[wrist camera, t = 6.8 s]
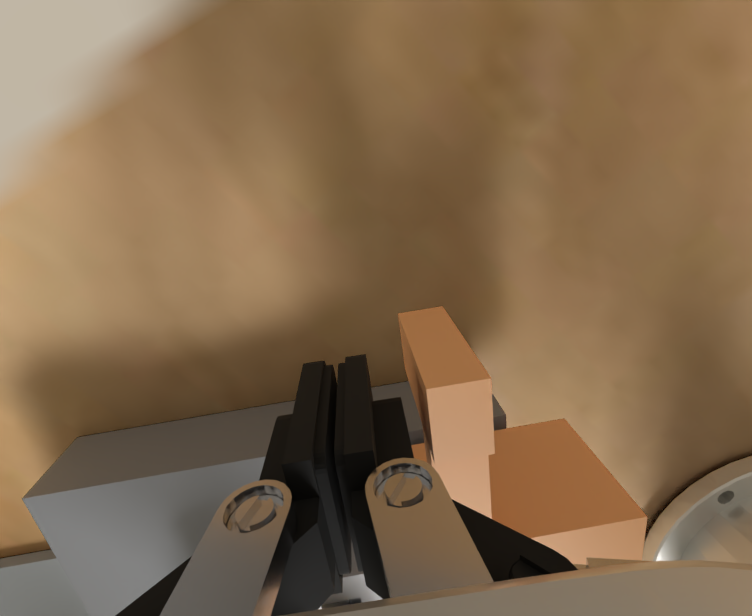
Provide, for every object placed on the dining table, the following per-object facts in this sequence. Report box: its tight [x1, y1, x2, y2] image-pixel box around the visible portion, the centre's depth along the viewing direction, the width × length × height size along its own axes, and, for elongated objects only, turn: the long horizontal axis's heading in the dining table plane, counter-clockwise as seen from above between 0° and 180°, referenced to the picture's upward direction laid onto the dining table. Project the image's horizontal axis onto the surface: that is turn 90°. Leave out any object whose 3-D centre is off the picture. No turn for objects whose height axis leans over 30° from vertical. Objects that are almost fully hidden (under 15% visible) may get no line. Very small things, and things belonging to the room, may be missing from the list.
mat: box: [0, 549, 90, 616], centre depth 22 cm, size 8×8×1 cm
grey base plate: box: [22, 381, 506, 616], centre depth 18 cm, size 18×12×6 cm, turn 98°
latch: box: [398, 306, 647, 565], centre depth 13 cm, size 6×11×5 cm, turn 8°
